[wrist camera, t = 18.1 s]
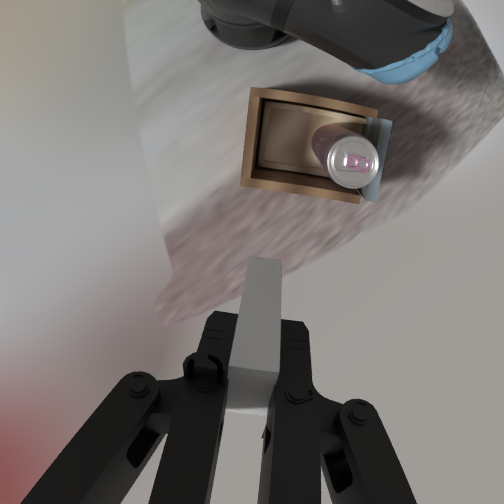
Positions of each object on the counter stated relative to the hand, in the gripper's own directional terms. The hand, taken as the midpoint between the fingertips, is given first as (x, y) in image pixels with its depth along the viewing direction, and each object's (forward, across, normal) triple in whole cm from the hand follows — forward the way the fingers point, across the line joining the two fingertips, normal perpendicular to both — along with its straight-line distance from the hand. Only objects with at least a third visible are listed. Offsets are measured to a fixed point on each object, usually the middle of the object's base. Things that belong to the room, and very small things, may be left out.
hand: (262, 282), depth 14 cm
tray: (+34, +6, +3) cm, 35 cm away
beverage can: (+33, +8, +4) cm, 34 cm away
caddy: (+34, +4, +4) cm, 35 cm away
